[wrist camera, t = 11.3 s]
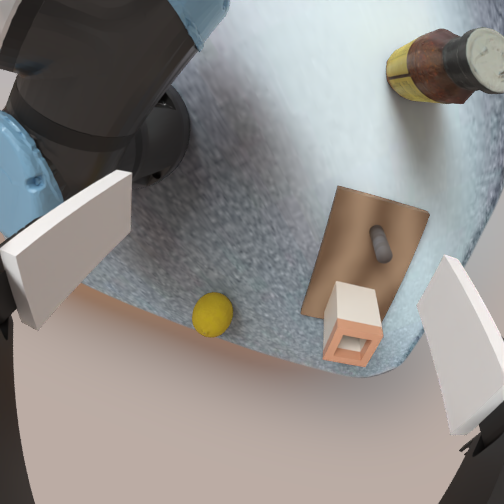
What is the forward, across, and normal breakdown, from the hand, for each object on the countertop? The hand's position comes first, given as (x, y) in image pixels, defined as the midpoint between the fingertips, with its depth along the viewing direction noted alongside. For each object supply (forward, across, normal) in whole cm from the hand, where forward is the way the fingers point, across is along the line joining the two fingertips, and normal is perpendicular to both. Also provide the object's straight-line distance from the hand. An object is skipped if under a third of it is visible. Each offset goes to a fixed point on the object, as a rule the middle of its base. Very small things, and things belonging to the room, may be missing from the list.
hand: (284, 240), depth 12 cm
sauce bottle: (+26, +10, +11) cm, 30 cm away
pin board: (+26, +12, -14) cm, 32 cm away
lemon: (+26, -6, -26) cm, 37 cm away
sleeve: (+24, +12, -20) cm, 34 cm away
